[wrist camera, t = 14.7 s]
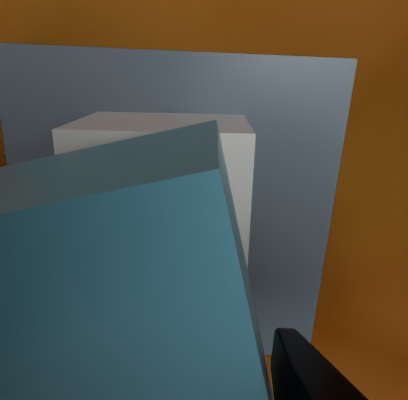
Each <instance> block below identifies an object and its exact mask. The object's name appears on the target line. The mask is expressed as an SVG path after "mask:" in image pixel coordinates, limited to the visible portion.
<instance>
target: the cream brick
mask: <svg viewBox="0 0 408 400" xmlns="http://www.w3.org/2000/svg"><path fill="white" fill-rule="evenodd" d="M212 120H217V124H218V129H219V134H220V139H221V144H222V149H223V154H224V158H225V163H226V168H227V173H228V178H229V183H230V188H231V192H232V197H233V202H234V207H235V212H236V217H237V222H238V226H239V231H240V236H241V241H242V246H243V251H244V256H245V260H246V265H247V268H248V252H249V236H250V220H251V203H252V187H253V171H254V155H255V139H256V133H255V132H254V130H253V129H252V127H251V126H250V124H249V122H248V121H247V119H246V118H245V116H244V115H243V114H193V113H144V112H96V113H93V114H90V115H88V116H85V117H83V118H80V119H77V120H75V121H72V122H70V123H67V124H64V125H62V126H59V127H57V128H54V129H52V136H53V145H54V154H55V155H57V154H61V153H66V152H70V151H75V150H80V149H84V148H89V147H93V146H98V145H102V144H107V143H112V142H116V141H121V140H125V139H130V138H134V137H139V136H144V135H148V134H153V133H157V132H162V131H166V130H171V129H176V128H180V127H185V126H189V125H194V124H198V123H203V122H208V121H212Z"/></svg>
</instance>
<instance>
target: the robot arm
mask: <svg viewBox="0 0 408 400" xmlns="http://www.w3.org/2000/svg"><path fill="white" fill-rule="evenodd" d="M271 375H272V384H273V394H274V400H368V399H367V398H366V397H365V396H364V395H363V394H362V393H361V392H360V391H359V390H358V389H357V388H356V387H355V386H354V385H353V384H352V383H351V382H350V381H349V380H348V379H346V378H345V377H344V376H343V375H342V374H341V373H340V372H339V371H338V370H337V369H336V368H335V367H334V366H333V365H332V364H331V363H330V362H329V361H328V360H327V359H326V358H325V357H324V356H323V355H322V354H321V353H320V352H319V351H318V350H317V349H316V348H315V347H314V346H313V345H312V344H311V343H310V342H309V341H308V340H307V339H306V338H304V337H303V336H302V335H301V334H300V333H299V332H298V331H297V330H296V329H294V328H280V327H279V328H276V330H275V332H274V339H273V347H272V355H271Z"/></svg>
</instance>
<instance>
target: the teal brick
mask: <svg viewBox="0 0 408 400" xmlns="http://www.w3.org/2000/svg"><path fill="white" fill-rule="evenodd" d="M0 400H274V397H273V392H272V387H271V382H270V377H269V372H268V367H267V363H266V358H265V353H264V348H263V343H262V338H261V333H260V329H259V324H258V319H257V314H256V309H255V304H254V299H253V295H252V290H251V285H250V280H249V275H248V270H247V265H246V260H245V256H244V251H243V246H242V241H241V236H240V231H239V226H238V222H237V217H236V212H235V207H234V202H233V197H232V192H231V188H230V183H229V178H228V173H227V168H226V163H225V158H224V154H223V149H222V144H221V139H220V134H219V129H218V124H217V120H212V121H208V122H203V123H198V124H194V125H189V126H185V127H180V128H176V129H171V130H166V131H162V132H157V133H153V134H148V135H144V136H139V137H134V138H130V139H125V140H121V141H116V142H112V143H107V144H102V145H98V146H93V147H89V148H84V149H80V150H75V151H70V152H66V153H61V154H57V155H52V156H48V157H43V158H38V159H34V160H29V161H25V162H20V163H16V164H11V165H6V166H2V167H0Z"/></svg>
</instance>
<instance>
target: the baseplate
mask: <svg viewBox="0 0 408 400" xmlns="http://www.w3.org/2000/svg"><path fill="white" fill-rule="evenodd" d="M356 66H357V59H350V58H327V57H305V56H283V55H260V54H238V53H216V52H193V51H171V50H149V49H126V48H104V47H81V46H59V45H37V44H14V43H0V118H1V125H2V133H3V140H4V148H5V155H6V163H7V165H11V164H16V163H20V162H25V161H29V160H34V159H38V158H43V157H48V156H52V155H55V154H54V145H53V136H52V129H54V128H57V127H59V126H62V125H64V124H67V123H70V122H72V121H75V120H77V119H80V118H83V117H85V116H88V115H90V114H93V113H96V112H144V113H193V114H243V115H244V116H245V118H246V119H247V121H248V122H249V124H250V126H251V127H252V129H253V130H254V132H255V133H256V139H255V155H254V171H253V187H252V203H251V220H250V236H249V252H248V268H247V270H248V275H249V280H250V285H251V290H252V295H253V299H254V304H255V309H256V314H257V319H258V324H259V329H260V333H261V338H262V343H263V348H264V353H265V354H269V355H272V347H273V339H274V332H275V330H276V328H279V327H280V328H294V329H296V330H297V331H298V332H299V333H300V334H301V335H302V336H303V337H304V338H306V339H307V340H308V341H309V342H310V343H311V338H312V332H313V326H314V320H315V314H316V308H317V302H318V296H319V290H320V284H321V278H322V272H323V266H324V259H325V253H326V247H327V241H328V235H329V229H330V223H331V217H332V211H333V205H334V199H335V193H336V187H337V181H338V175H339V169H340V162H341V156H342V150H343V144H344V138H345V132H346V126H347V120H348V114H349V108H350V102H351V96H352V90H353V84H354V78H355V72H356Z"/></svg>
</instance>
